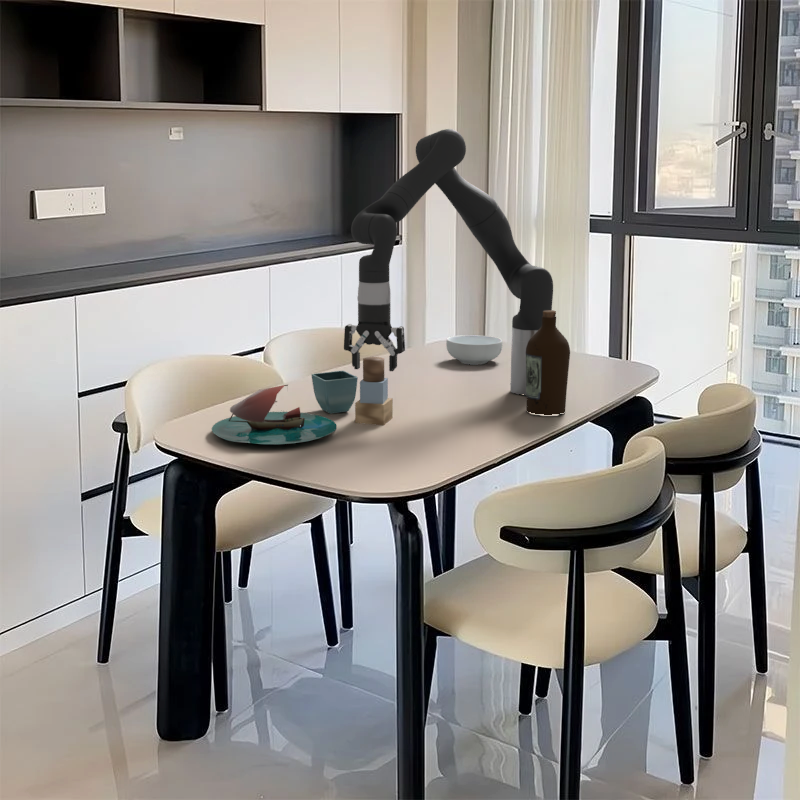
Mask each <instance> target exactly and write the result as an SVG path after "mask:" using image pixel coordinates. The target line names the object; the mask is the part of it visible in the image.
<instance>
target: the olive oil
mask: <svg viewBox="0 0 800 800" xmlns="http://www.w3.org/2000/svg"><path fill="white" fill-rule="evenodd" d="M556 314H557V311H556V310H544V311H543V316H542V326H541V328H540V329H539V330H538V331H537V332H536V333H535V334H534V335H533V336H532V337H531V338H530V339H529V341H528V344H527V347H526V395H525V396H526V405H525V406H526V410H527V411H528V412H531V413H535V414H544V415H552V414H560V413H564V412H565V413H566V406H567V389H568V381H569V380H568V379H569V368H570V357H571V348H570V344H569V342H568V339H567V338H566V337H565V335H564V334H562V332H561V331H560V330H559V329H558V327H557V326H556V324H557V316H556ZM526 410H525V411H526ZM527 411H526V412H527ZM565 413H564V414H565Z"/></svg>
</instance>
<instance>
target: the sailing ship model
mask: <svg viewBox="0 0 800 800" xmlns="http://www.w3.org/2000/svg"><path fill="white" fill-rule="evenodd" d="M288 386H289V384H283V385H277V386H273V387H268V388H263V389H258V390H257V391H255V392H253V393H251V394H250V395H249V396H247V397H245V398H243V399H241V400H240V401H238V402H237V403H235V404H233V405H232V406H231V407H230V408H229V411H230V413H231V416H230V417H227V418H224V419H221V420H219V421H217V422H215V424H213V425H212V427H211V432H212V433H213V434H214V435H215V436H217V437H219V438H220V439H223V440H225V441H229V442H235V443H246V444H247V443H248V444H258V445H285V444H286V445H287V444H288V445H289V444H290V445H291V444H296V443H305V442H310V441H313V440H318V439H321V438H324V437H326V436H329V435H330V434H332V433H334V432H336V430H337V428H338V427H337V425H338V424H337V423H336V422H334V420H332V419H330V418H328V417H325V416H323V415H322V416H321V415H318V414H314V413H313V414H312V413H306V412H301V407H300V406H298V407H296V408H294V409H292V410H289V411H271V409H272V408H273V406H274V404H275V403H278V400H277V396H278V394H279V393H280V392H281V391H282V389H284V387H287V391H288ZM275 405H276V404H275Z"/></svg>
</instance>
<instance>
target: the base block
mask: <svg viewBox="0 0 800 800" xmlns="http://www.w3.org/2000/svg"><path fill="white" fill-rule="evenodd" d="M393 400H394V399H393V398H391V397H388V399H387V400H386V401H385V402H384V403H383V404H374V403H360V399H359V400H357V401H356V402H355V403H354V406H355V407H354V408H355V410H354V412H355V413H354V414H355V415H354V416H355V417H354V419H355V420H354V422H355V424H362V423H365V424H364V425H375V424H376V425H378V426H385V425H386V424H387V423H388V422H389V421H391V420H392V419H393V413H394V412H393V411H394V409H393ZM376 425H375V426H376Z"/></svg>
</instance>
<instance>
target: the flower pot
mask: <svg viewBox="0 0 800 800" xmlns="http://www.w3.org/2000/svg"><path fill="white" fill-rule="evenodd" d="M358 378H359V377H357V376H356V375H353V374H351V373H349V372H348V371H345V370H334V371H327V372H319V373H311V382H312V387H313V392H314V393H313V394H314V397H315V400H316V402H317V403H318V405H319V407H320V409H321V410H322V411H323V412H325V413H328V414H331V415H332V413H333V414H338V413H347V412H349V411H350V409H351V407H352V406H353V404H354V402H355V399H356V396H357V388H358V387H357V386H358V380H359V379H358Z"/></svg>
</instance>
